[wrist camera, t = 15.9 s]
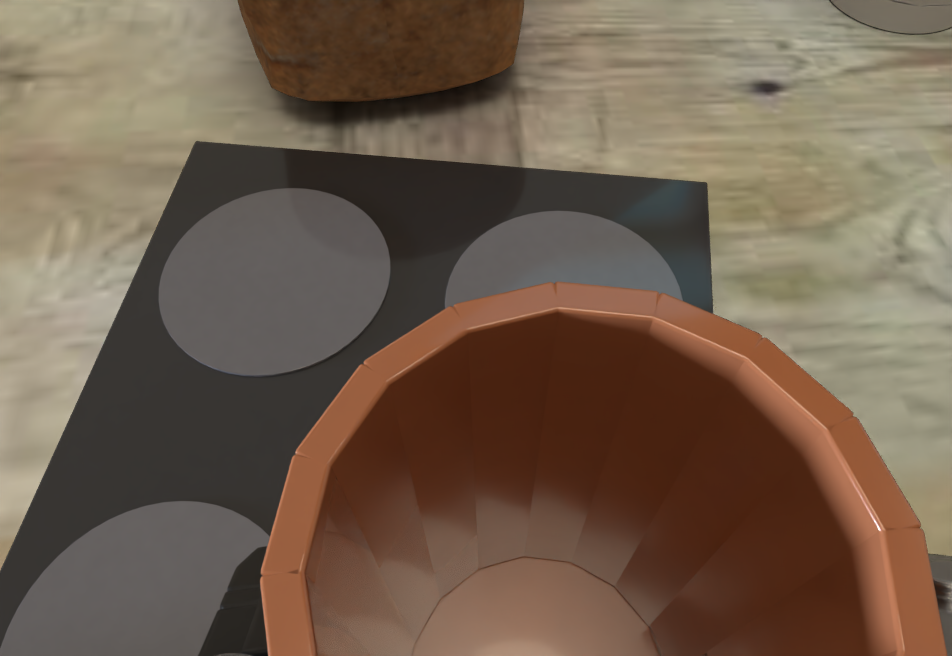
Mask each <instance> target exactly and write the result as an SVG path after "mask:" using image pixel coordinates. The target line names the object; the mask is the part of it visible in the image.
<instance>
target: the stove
mask: <svg viewBox="0 0 952 656" xmlns="http://www.w3.org/2000/svg"><path fill="white" fill-rule="evenodd" d="M558 281H559V282H570V283H580V284H590V285H601V286H611V287H622V288H632V289H642V290H653V291H658V292H659V294H661V293H666V294H668V295H670V296H673V297H675V298H677V299H680V300H682V301H684V302H687V303H689V304H691V305H694V306H696V307H698V308H701V309H703V310H705V311H708V312H710V313H712V314H713V296H712V275H711V253H710V232H709V211H708V189H707V183H706V182H695V181H683V180H671V179H658V178H646V177H633V176H621V175H609V174H596V173H584V172H571V171H559V170H547V169H534V168H522V167H510V166H497V165H485V164H472V163H460V162H448V161H435V160H423V159H411V158H398V157H386V156H373V155H361V154H349V153H336V152H324V151H311V150H299V149H287V148H274V147H262V146H250V145H237V144H225V143H212V142H200V141H196V142H195V144H194V146H193V148H192V150H191V153H190V155H189V157H188V159H187V161H186V164H185V166H184V168H183V170H182V172H181V175H180V177H179V179H178V181H177V183H176V186H175V188H174V190H173V192H172V194H171V197H170V199H169V201H168V203H167V205H166V208H165V210H164V212H163V214H162V216H161V219H160V221H159V223H158V225H157V227H156V230H155V232H154V234H153V236H152V238H151V241H150V243H149V245H148V247H147V249H146V252H145V254H144V256H143V258H142V260H141V263H140V265H139V267H138V269H137V271H136V274H135V276H134V278H133V280H132V282H131V285H130V287H129V289H128V291H127V293H126V296H125V298H124V300H123V302H122V304H121V307H120V309H119V311H118V313H117V315H116V318H115V320H114V322H113V324H112V326H111V329H110V331H109V333H108V335H107V337H106V340H105V342H104V344H103V346H102V348H101V351H100V353H99V355H98V357H97V359H96V361H95V364H94V366H93V368H92V370H91V372H90V375H89V377H88V379H87V381H86V383H85V386H84V388H83V390H82V392H81V394H80V397H79V399H78V401H77V403H76V405H75V408H74V410H73V412H72V414H71V416H70V419H69V421H68V423H67V425H66V427H65V430H64V432H63V434H62V436H61V438H60V441H59V443H58V445H57V447H56V449H55V452H54V454H53V456H52V458H51V460H50V463H49V465H48V467H47V469H46V471H45V474H44V476H43V478H42V480H41V482H40V485H39V487H38V489H37V491H36V493H35V496H34V498H33V500H32V502H31V504H30V507H29V509H28V511H27V513H26V515H25V518H24V520H23V522H22V524H21V526H20V529H19V531H18V533H17V535H16V537H15V540H14V542H13V544H12V546H11V548H10V551H9V553H8V555H7V557H6V559H5V562H4V564H3V566H2V568H1V570H0V656H198V654H199V652H200V650H201V648H202V645H203V643H204V641H205V638H206V636H207V634H208V631H209V629H210V627H211V624H212V622H213V620H214V618H215V615H216V613H217V611H218V610H220V604H221V601H222V599H223V597H224V594H225V592H227V587H228V585H229V583H230V581H231V578H232V576H233V574H234V571H235V569H236V567H237V566H238V565H239V564H240V563H241V562H242V561H244V560H245V559H246V558H247V557H248V556H249V555H250V554H251V553H252V552H253V551H254V550H256V549H257V548H258V547H265V546H268V542H269V538H270V535H271V531H272V528H273V524H274V520H275V517H276V513H277V510H278V506H279V502H280V499H281V495H282V492H283V488H284V484H285V481H286V477H287V474H288V470H289V466H290V463H291V459H292V457H293V456H294V455H296V454H295V452H296V449H297V448H298V447H299V445H300V444H301V443H302V441H303V440H304V439H305V437H306V436H307V435H308V433H309V432H310V431H311V429H312V428H313V427H314V425H315V424H316V423H317V421H318V420H319V419H320V417H321V416H322V415H323V413H324V412H325V411H326V409H327V408H328V407H329V405H330V404H331V403H332V401H333V400H334V399H335V397H336V396H337V395H338V393H339V392H340V391H341V389H342V388H343V387H344V385H345V384H346V383H347V381H348V380H349V379H350V377H351V376H352V375H353V373H354V372H355V371H356V369H357V368H358V367H359V365H361V364H363V363H364V361H365V360H366V359H367V358H369V357H370V356H372V355H374V354H375V353H377V352H378V351H380V350H381V349H383V348H385V347H386V346H388V345H389V344H391V343H392V342H394V341H396V340H397V339H399V338H400V337H402V336H403V335H405V334H407V333H408V332H410V331H411V330H413V329H414V328H416V327H418V326H419V325H421V324H422V323H424V322H425V321H427V320H429V319H430V318H432V317H433V316H435V315H436V314H438V313H440V312H441V311H443V310H444V309H446V308H447V307H450V306H452V307H453V306H454V305H455V304H457V303H461V302H465V301H470V300H474V299H478V298H483V297H487V296H491V295H496V294H500V293H504V292H509V291H513V290H517V289H522V288H526V287H530V286H535V285H539V284H543V283H548V282H553V283H555V282H558Z"/></svg>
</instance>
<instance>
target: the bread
mask: <svg viewBox="0 0 952 656" xmlns="http://www.w3.org/2000/svg"><path fill="white" fill-rule="evenodd" d="M237 1H238V4H239V7H240V11H241V14H242V17H243V20H244V22H245V25H246V28H247V30H248V33H249V36H250V38H251V41H252V44H253V47H254V49H255V52H256V55H257V57H258V59H259V61H260V63H261V65H262V68H263V70H264V72H265V74H266V76H267V78H268V80H269V83H270V85H271V87H272V88H274V89H276V90H278V91H280V92H282V93H284V94H286V95H288V96H292V97H298V98H302V99H305V100H307V101H335V102H360V101H371V100H382V99H392V98H402V97H408V96H414V95H420V94H426V93H432V92H438V91H443V90H447V89H451V88H455V87H458V86H462V85H466V84H470V83H473V82H477V81H480V80H482V79H485V78H487V77H490V76H493V75H495V74H498V73H500V72H502V71H503V70H505V69H506V68H508V67H509V66H511V65H512V64H513V63H514V58H515V54H516V49H517V45H518V40H519V34H520V28H521V22H522V16H523V8H524V0H237Z"/></svg>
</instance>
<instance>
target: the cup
mask: <svg viewBox="0 0 952 656" xmlns="http://www.w3.org/2000/svg"><path fill="white" fill-rule="evenodd" d="M831 2H832V3H833V4H834V5H835V6H836V7H838V8H839V9H840V10H841V11H843V12H844V13H846V14H847V15H849V16H850V17H852V18H854V19H856V20H858V21H860V22H862V23H865V24H867V25H870V26H873V27H876V28H879V29H883V30H887V31H892V32H899V33H910V34H922V33H932V32H937V31H942V30H945V29H948V28H950V27H952V0H831Z"/></svg>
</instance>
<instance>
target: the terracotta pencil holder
mask: <svg viewBox="0 0 952 656" xmlns="http://www.w3.org/2000/svg"><path fill="white" fill-rule="evenodd" d="M295 454H296V455H294V456H293V457H292V459H291V463H290V466H289V470H288V474H287V477H286V481H285V484H284V488H283V492H282V495H281V499H280V502H279V506H278V510H277V513H276V517H275V520H274V524H273V528H272V531H271V535H270V538H269V542H268V546H267V549H266V553H265V556H264V560H263V564H262V567H261V575H262V577H261V579H260V589H261V598H262V607H263V616H264V625H265V634H266V643H267V651H268V656H947V650H946V645H945V640H944V635H943V629H942V624H941V619H940V614H939V608H938V603H937V598H936V592H935V587H934V582H933V577H932V571H931V566H930V561H929V556H928V550H927V545H926V540H925V535H924V531H923V530H922V529H920V527H921V524H920V521H919V520H918V518H917V516H916V515H915V513H914V511H913V510H912V508H911V506H910V505H909V503H908V501H907V500H906V498H905V496H904V495H903V493H902V491H901V490H900V488H899V486H898V485H897V483H896V481H895V480H894V478H893V476H892V475H891V473H890V471H889V470H888V468H887V466H886V465H885V463H884V461H883V460H882V458H881V456H880V455H879V453H878V451H877V450H876V448H875V446H874V445H873V443H872V441H871V440H870V438H869V436H868V435H867V433H866V431H865V430H864V428H863V426H862V424H861V423H860V421H859V419H858V418H857V417H853V413H852V411H851V410H850V409H848V408H847V407H846V406H845V405H844V404H843V403H841V402H840V401H839V400H838V399H837V398H836V397H835V396H833V395H832V394H831V393H830V392H829V391H828V390H826V389H825V388H824V387H823V386H822V385H821V384H819V383H818V382H817V381H816V380H815V379H814V378H813V377H811V376H810V375H809V374H808V373H807V372H806V371H804V370H803V369H802V368H801V367H800V366H799V365H797V364H796V363H795V362H794V361H793V360H792V359H790V358H789V357H788V356H787V355H786V354H785V353H784V352H782V351H781V350H780V349H779V348H778V347H777V346H775V345H774V344H773V343H772V342H771V341H770V340H768V339H767V338H762V335H760V334H759V333H757V332H754V331H752V330H750V329H747V328H745V327H743V326H740V325H738V324H736V323H733V322H731V321H729V320H726V319H724V318H722V317H719V316H717V315H715V314H712V313H710V312H708V311H705V310H703V309H701V308H698V307H696V306H694V305H691V304H689V303H687V302H684V301H682V300H680V299H677V298H675V297H673V296H670V295H668V294H666V293H661V294H659V292H658V291H653V290H642V289H632V288H622V287H611V286H601V285H590V284H580V283H570V282H559V281H558V282H555V283H553V282H548V283H543V284H539V285H535V286H530V287H526V288H522V289H517V290H513V291H509V292H504V293H500V294H496V295H491V296H487V297H483V298H478V299H474V300H470V301H465V302H461V303H457V304H455V305H454V306H453V307H452V306H450V307H447V308H446V309H444V310H443V311H441V312H440V313H438V314H436V315H435V316H433V317H432V318H430V319H429V320H427V321H425V322H424V323H422V324H421V325H419V326H418V327H416V328H414V329H413V330H411V331H410V332H408V333H407V334H405V335H403V336H402V337H400V338H399V339H397V340H396V341H394V342H392V343H391V344H389V345H388V346H386V347H385V348H383V349H381V350H380V351H378V352H377V353H375V354H374V355H372V356H370V357H369V358H367V359H366V360H365V361H364V363H363V364H361V365H359V367H358V368H357V369H356V371H355V372H354V373H353V375H352V376H351V377H350V379H349V380H348V381H347V383H346V384H345V385H344V387H343V388H342V389H341V391H340V392H339V393H338V395H337V396H336V397H335V399H334V400H333V401H332V403H331V404H330V405H329V407H328V408H327V409H326V411H325V412H324V413H323V415H322V416H321V417H320V419H319V420H318V421H317V423H316V424H315V425H314V427H313V428H312V429H311V431H310V432H309V433H308V435H307V436H306V437H305V439H304V440H303V441H302V443H301V444H300V445H299V447H298V448H297V449H296V452H295Z"/></svg>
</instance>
